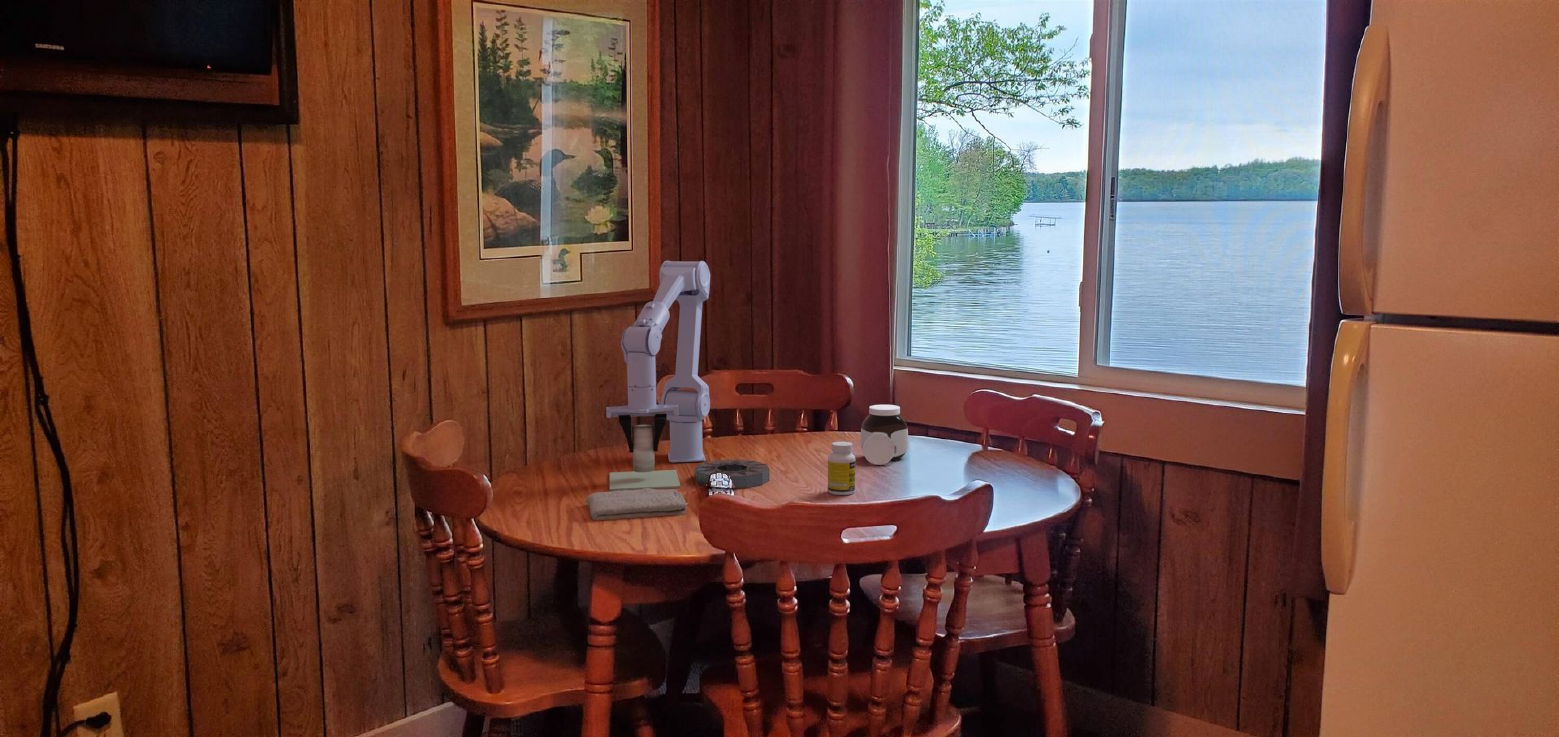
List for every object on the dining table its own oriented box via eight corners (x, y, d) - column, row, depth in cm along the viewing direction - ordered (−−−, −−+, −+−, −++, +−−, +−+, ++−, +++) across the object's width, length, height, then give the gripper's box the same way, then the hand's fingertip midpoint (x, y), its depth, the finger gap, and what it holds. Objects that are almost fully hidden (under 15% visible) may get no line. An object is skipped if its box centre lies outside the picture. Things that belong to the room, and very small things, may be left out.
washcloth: (690, 516, 198) (690, 500, 198) (591, 524, 194) (590, 507, 193) (679, 500, 210) (679, 484, 209) (585, 507, 205) (585, 491, 205)
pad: (609, 474, 229) (609, 472, 229) (676, 471, 231) (676, 469, 231) (609, 490, 215) (609, 488, 215) (680, 487, 217) (680, 485, 217)
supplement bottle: (853, 496, 210) (853, 446, 208) (825, 495, 211) (825, 445, 210) (857, 489, 215) (857, 441, 214) (830, 488, 216) (830, 440, 215)
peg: (632, 467, 224) (631, 425, 223) (654, 467, 225) (653, 424, 224) (633, 472, 220) (632, 429, 219) (655, 471, 221) (654, 428, 220)
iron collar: (693, 472, 230) (693, 461, 230) (763, 469, 232) (763, 458, 232) (699, 490, 215) (698, 477, 215) (773, 486, 218) (773, 474, 217)
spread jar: (897, 453, 248) (898, 402, 246) (919, 463, 237) (919, 411, 236) (848, 457, 244) (848, 406, 243) (868, 468, 234) (868, 414, 232)
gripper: (605, 389, 215) (607, 456, 217) (678, 387, 217) (680, 453, 219) (605, 384, 222) (607, 449, 224) (676, 382, 224) (678, 446, 226)
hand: (643, 451), depth 222 cm, fingers closed on peg, 4 cm apart
